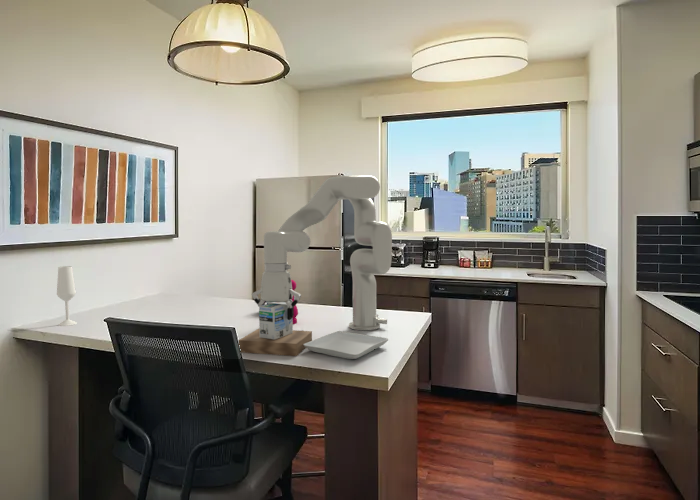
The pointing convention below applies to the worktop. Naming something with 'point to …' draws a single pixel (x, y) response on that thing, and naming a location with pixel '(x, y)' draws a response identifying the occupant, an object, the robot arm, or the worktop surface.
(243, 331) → the worktop surface
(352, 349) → the salad plate
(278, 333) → the light bulb box
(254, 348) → the riser block
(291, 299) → the pepper mill
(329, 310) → the worktop surface
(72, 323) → the champagne flute
